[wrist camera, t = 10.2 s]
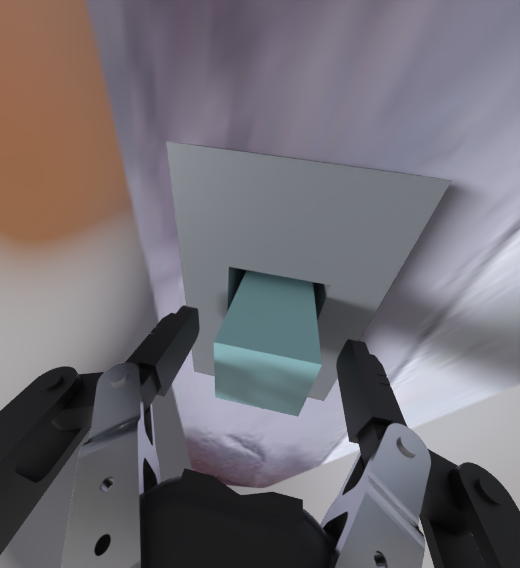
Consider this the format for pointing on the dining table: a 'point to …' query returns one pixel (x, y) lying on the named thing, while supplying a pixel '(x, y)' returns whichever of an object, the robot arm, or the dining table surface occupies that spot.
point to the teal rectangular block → (268, 344)
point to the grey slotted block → (293, 237)
